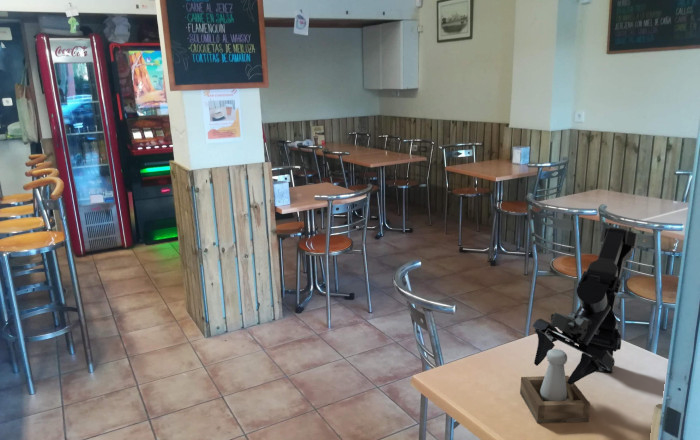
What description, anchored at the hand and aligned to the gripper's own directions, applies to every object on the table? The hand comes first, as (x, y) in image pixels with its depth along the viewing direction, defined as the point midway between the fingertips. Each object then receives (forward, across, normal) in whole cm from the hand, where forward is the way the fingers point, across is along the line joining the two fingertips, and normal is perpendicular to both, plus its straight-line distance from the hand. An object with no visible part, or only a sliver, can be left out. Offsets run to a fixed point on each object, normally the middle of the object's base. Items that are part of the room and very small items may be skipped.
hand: (551, 373), depth 117 cm
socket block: (+5, 0, +7) cm, 9 cm away
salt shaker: (+5, 0, +7) cm, 8 cm away
